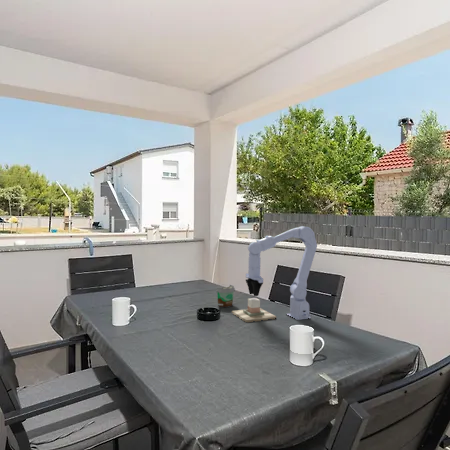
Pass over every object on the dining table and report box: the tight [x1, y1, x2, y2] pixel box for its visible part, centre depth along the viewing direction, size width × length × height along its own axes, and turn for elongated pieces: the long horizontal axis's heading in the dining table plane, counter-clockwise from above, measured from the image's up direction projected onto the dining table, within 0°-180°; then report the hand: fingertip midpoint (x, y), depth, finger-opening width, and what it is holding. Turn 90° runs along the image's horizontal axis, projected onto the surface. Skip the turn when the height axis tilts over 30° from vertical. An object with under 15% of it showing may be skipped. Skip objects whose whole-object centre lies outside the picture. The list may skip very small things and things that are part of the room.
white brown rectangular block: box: [247, 297, 261, 313], centre depth 175 cm, size 4×4×7 cm
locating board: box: [231, 307, 277, 323], centre depth 175 cm, size 16×16×2 cm
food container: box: [216, 284, 236, 308], centre depth 194 cm, size 12×6×10 cm, turn 143°
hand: (253, 294), depth 175 cm, fingers open, 4 cm apart
